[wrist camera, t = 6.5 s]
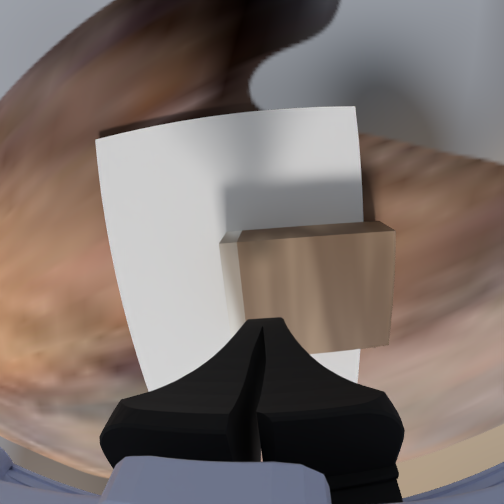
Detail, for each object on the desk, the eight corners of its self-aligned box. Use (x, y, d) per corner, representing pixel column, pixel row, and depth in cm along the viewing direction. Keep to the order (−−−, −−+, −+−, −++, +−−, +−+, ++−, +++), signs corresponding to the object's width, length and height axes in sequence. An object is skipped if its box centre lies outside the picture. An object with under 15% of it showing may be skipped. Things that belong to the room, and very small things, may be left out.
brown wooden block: (395, 230, 14) (218, 243, 14) (388, 345, 15) (234, 358, 16) (378, 221, 16) (226, 231, 17) (375, 322, 18) (239, 334, 18)
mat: (352, 107, 15) (354, 106, 14) (354, 395, 20) (355, 400, 19) (99, 140, 16) (95, 139, 16) (156, 402, 21) (154, 406, 20)
